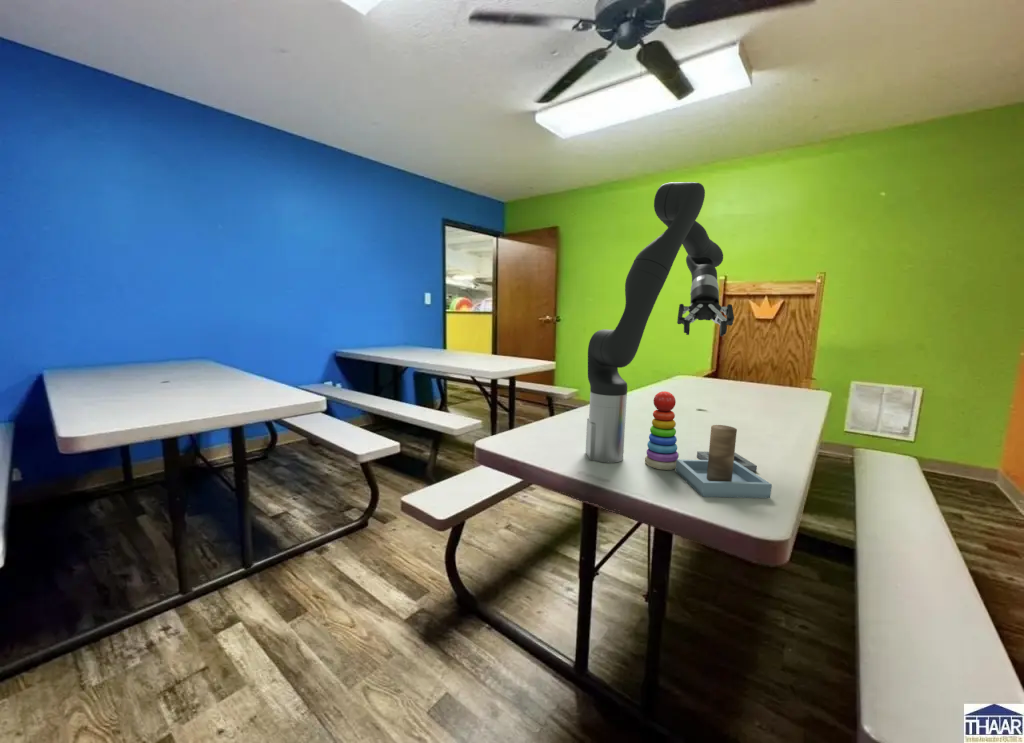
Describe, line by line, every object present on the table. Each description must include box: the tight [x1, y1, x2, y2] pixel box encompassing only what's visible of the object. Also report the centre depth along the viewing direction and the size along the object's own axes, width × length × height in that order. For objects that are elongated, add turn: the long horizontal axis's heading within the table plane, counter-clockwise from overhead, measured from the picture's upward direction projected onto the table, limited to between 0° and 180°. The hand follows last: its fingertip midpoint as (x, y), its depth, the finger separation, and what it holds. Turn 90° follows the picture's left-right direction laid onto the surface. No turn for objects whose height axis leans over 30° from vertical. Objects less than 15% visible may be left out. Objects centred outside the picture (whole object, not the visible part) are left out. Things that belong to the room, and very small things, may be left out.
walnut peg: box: [707, 424, 738, 482], centre depth 90 cm, size 5×5×12 cm
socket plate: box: [696, 451, 758, 473], centre depth 104 cm, size 10×10×2 cm
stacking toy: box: [644, 391, 680, 471], centre depth 101 cm, size 8×8×19 cm
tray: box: [675, 458, 772, 499], centre depth 91 cm, size 14×14×3 cm
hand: (704, 333), depth 111 cm, fingers open, 8 cm apart
